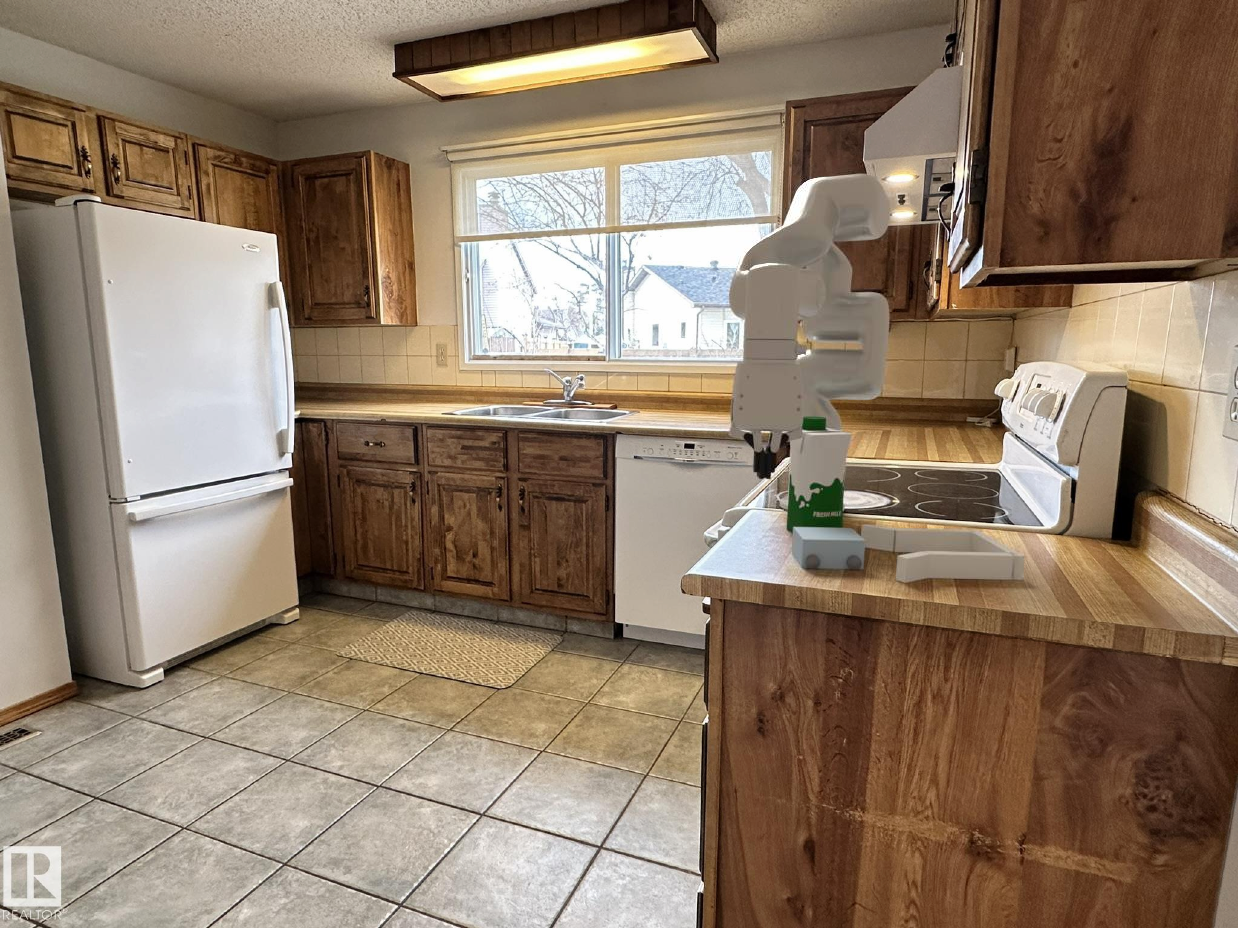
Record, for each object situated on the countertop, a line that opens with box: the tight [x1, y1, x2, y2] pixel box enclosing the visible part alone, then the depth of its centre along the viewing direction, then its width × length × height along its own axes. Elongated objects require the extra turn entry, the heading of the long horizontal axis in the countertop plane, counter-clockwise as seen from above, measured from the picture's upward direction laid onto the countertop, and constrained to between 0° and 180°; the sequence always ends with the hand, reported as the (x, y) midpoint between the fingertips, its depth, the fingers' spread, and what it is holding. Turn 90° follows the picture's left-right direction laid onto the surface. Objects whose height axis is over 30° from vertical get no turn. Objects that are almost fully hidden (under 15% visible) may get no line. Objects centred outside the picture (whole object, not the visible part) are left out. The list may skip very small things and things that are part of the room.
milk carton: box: [785, 417, 853, 533], centre depth 119 cm, size 9×9×20 cm
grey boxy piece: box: [791, 527, 866, 571], centre depth 105 cm, size 8×9×4 cm
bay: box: [860, 523, 1025, 584], centre depth 105 cm, size 19×18×4 cm
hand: (763, 477), depth 103 cm, fingers closed
